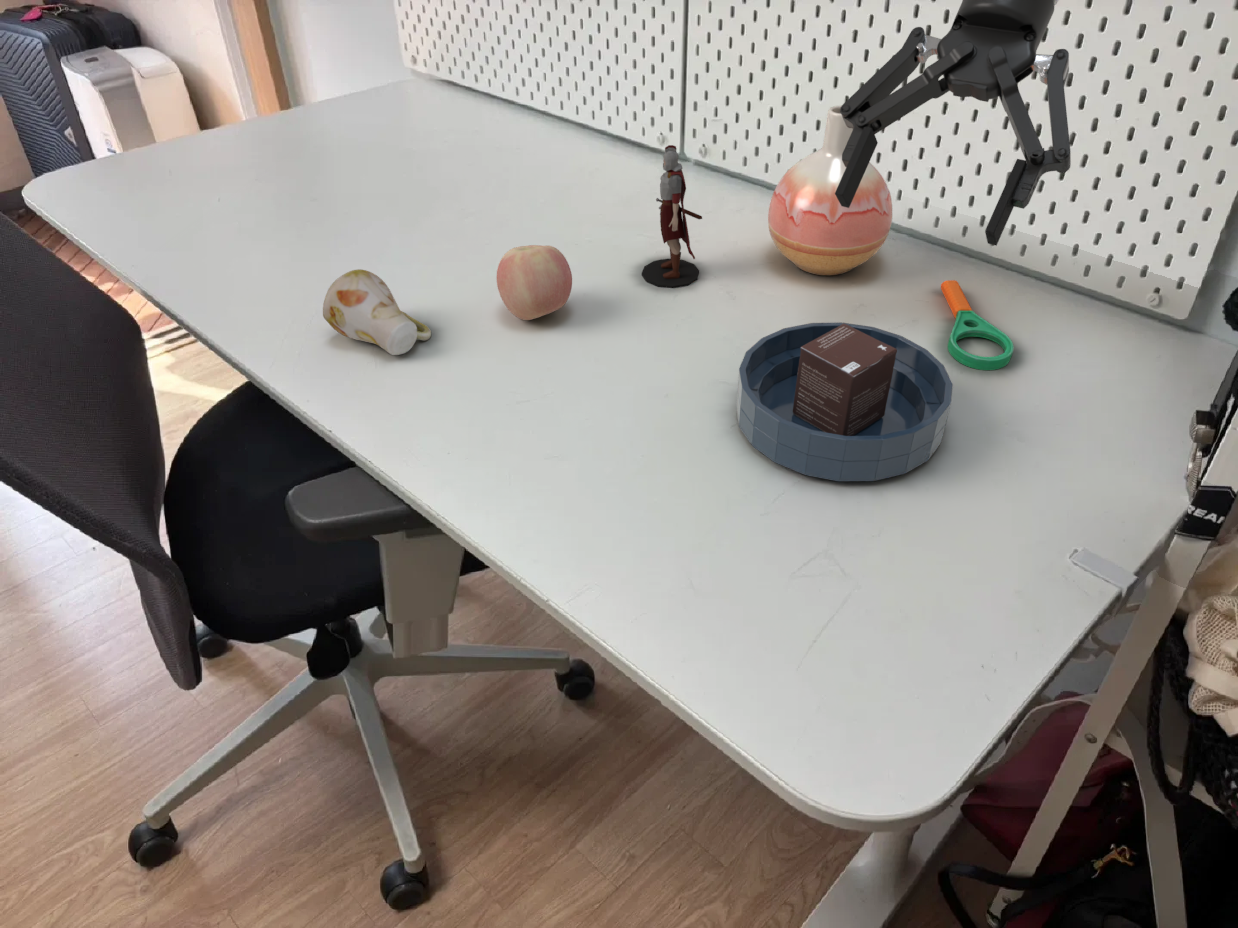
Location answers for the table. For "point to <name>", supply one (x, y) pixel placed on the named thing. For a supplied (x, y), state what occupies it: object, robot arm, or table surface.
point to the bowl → (813, 452)
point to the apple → (534, 280)
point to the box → (843, 381)
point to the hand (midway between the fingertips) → (913, 219)
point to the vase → (829, 209)
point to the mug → (370, 313)
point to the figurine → (672, 229)
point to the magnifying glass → (973, 331)
